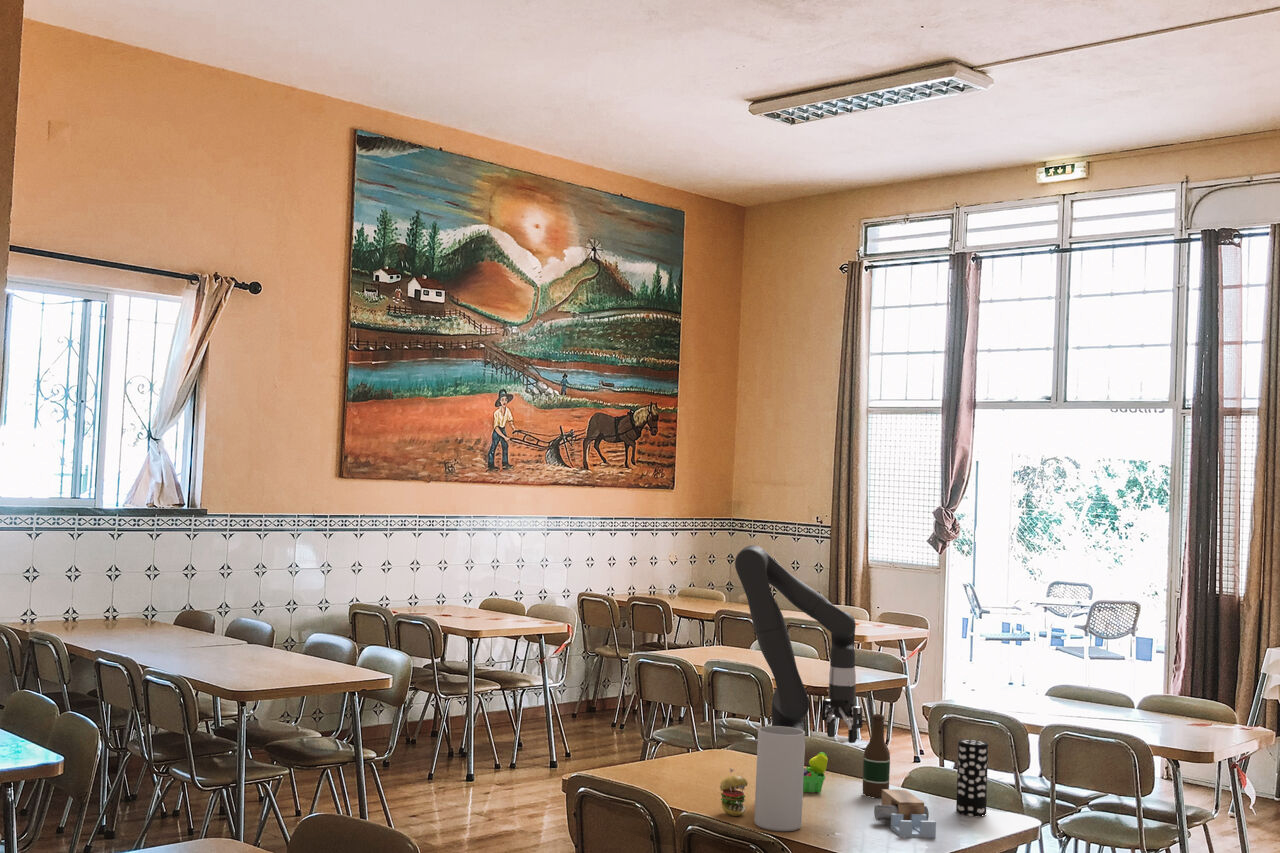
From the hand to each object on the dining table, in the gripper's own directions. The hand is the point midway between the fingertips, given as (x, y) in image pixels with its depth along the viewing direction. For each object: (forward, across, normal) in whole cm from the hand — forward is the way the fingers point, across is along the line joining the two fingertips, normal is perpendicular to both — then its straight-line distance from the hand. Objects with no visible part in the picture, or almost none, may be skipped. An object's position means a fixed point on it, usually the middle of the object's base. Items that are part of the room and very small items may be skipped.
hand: (841, 739), depth 330 cm
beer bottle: (+20, -8, +22) cm, 31 cm away
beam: (+20, +16, +8) cm, 27 cm away
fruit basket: (+20, -22, +8) cm, 31 cm away
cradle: (+20, +27, +1) cm, 33 cm away
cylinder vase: (+19, +7, -29) cm, 35 cm away
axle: (+19, +19, +5) cm, 27 cm away
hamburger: (+19, -8, -33) cm, 39 cm away
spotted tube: (+21, +18, +34) cm, 44 cm away
